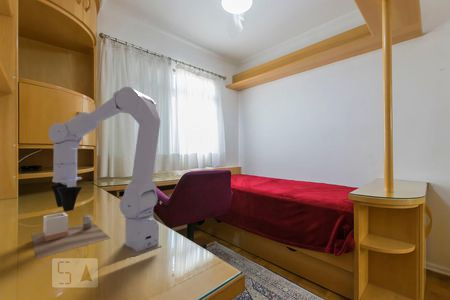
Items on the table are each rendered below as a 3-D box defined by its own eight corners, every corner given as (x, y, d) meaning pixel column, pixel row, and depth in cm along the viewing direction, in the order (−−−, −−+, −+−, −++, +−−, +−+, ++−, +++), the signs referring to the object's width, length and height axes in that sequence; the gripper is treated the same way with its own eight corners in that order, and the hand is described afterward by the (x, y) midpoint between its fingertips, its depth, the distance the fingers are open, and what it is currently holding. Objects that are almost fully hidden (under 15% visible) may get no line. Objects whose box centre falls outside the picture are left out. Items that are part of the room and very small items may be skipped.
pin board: (110, 242, 59) (111, 224, 59) (35, 263, 47) (36, 241, 47) (92, 225, 72) (93, 211, 73) (31, 238, 61) (31, 221, 61)
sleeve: (68, 235, 61) (68, 215, 61) (45, 240, 57) (46, 219, 57) (64, 231, 64) (64, 212, 64) (42, 236, 60) (43, 216, 60)
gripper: (88, 164, 60) (88, 209, 59) (74, 162, 69) (74, 202, 69) (58, 165, 54) (58, 215, 54) (47, 163, 64) (47, 206, 63)
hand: (65, 208), depth 61 cm, fingers open, 7 cm apart
